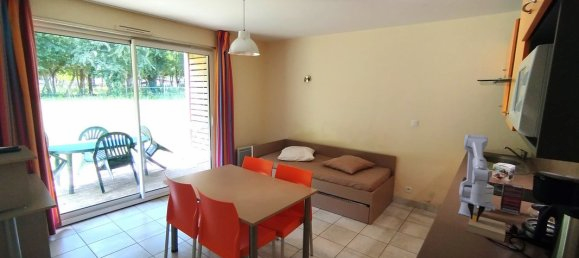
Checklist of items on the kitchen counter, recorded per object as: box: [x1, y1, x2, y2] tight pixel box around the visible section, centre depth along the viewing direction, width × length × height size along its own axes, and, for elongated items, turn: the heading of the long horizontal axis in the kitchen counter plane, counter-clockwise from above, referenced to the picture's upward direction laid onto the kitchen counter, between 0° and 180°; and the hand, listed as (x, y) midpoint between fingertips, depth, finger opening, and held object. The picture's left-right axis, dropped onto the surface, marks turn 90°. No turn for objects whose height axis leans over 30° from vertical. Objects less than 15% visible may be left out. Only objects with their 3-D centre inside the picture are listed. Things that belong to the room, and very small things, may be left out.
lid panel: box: [467, 212, 506, 237], centre depth 128 cm, size 14×14×4 cm
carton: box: [466, 224, 506, 243], centre depth 129 cm, size 14×14×3 cm
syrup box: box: [476, 183, 495, 212], centre depth 153 cm, size 6×6×14 cm
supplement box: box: [499, 182, 524, 216], centre depth 150 cm, size 9×5×16 cm, turn 54°
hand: (474, 219), depth 132 cm, fingers closed
